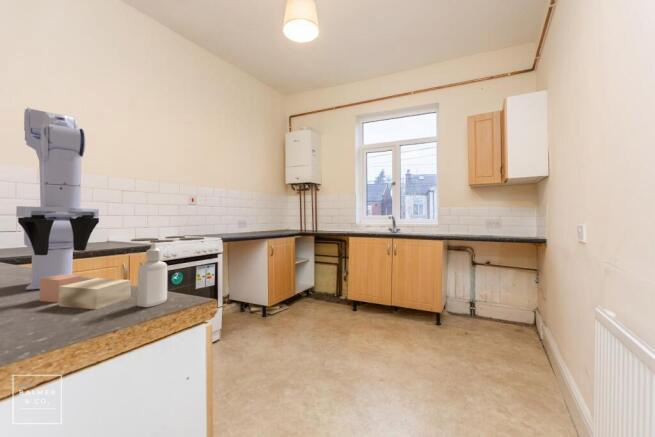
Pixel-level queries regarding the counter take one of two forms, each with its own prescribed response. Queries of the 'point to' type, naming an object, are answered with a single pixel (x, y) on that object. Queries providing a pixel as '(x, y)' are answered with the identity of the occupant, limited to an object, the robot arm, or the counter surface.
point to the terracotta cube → (55, 286)
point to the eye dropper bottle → (152, 279)
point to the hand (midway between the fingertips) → (61, 252)
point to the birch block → (94, 293)
